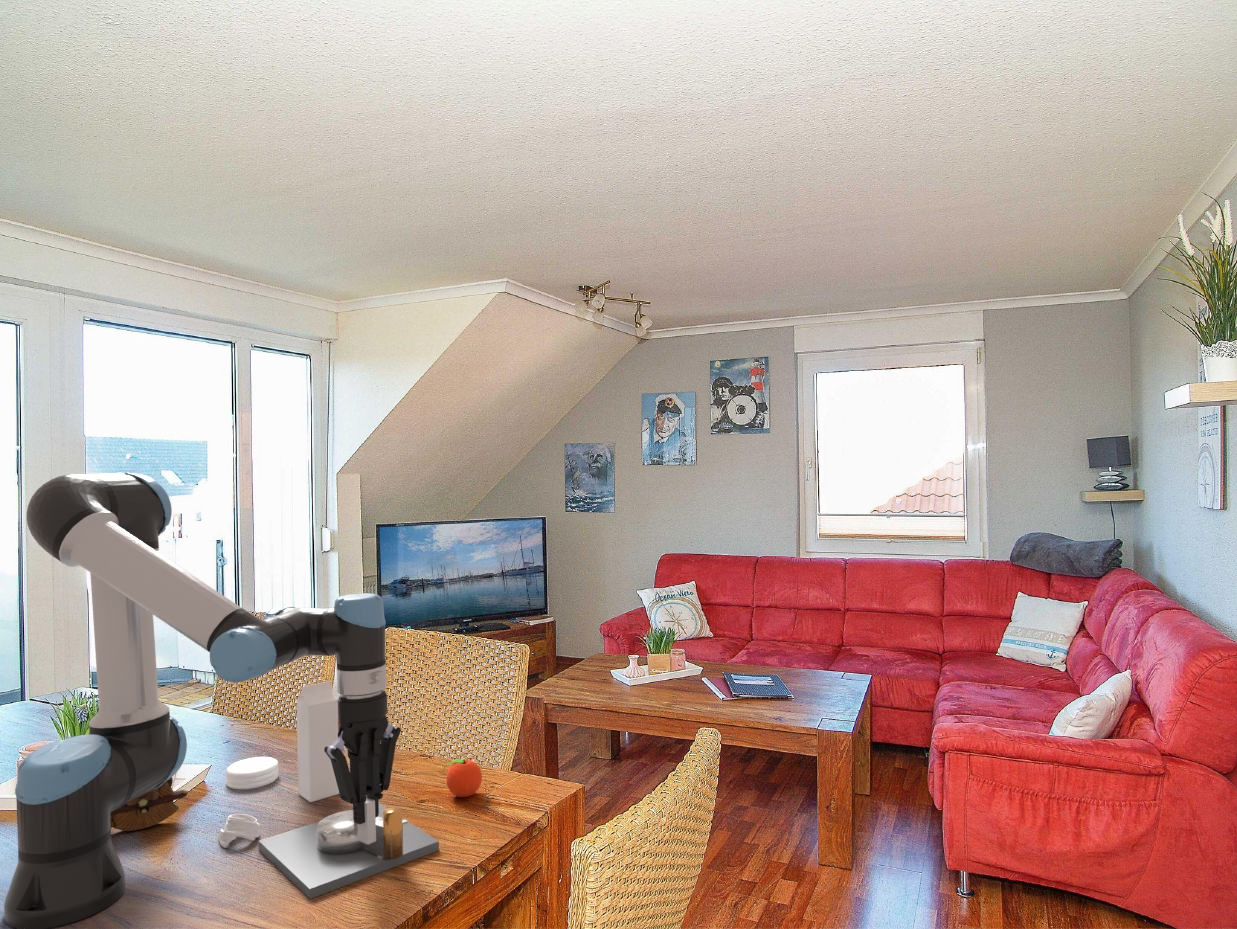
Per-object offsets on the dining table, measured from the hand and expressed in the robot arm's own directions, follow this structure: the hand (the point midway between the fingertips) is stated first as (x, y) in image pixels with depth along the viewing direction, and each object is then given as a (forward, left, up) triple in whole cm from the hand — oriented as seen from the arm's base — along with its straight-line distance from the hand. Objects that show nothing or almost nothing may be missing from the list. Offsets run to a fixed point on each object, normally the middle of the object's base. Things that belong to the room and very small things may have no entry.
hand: (366, 840), depth 130 cm
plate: (+2, +11, -6) cm, 12 cm away
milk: (+8, +38, -6) cm, 39 cm away
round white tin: (+1, +55, -6) cm, 55 cm away
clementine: (+28, +17, -6) cm, 33 cm away
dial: (+3, +7, -4) cm, 8 cm away
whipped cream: (-10, +28, -6) cm, 31 cm away
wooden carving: (-22, +46, -6) cm, 51 cm away
